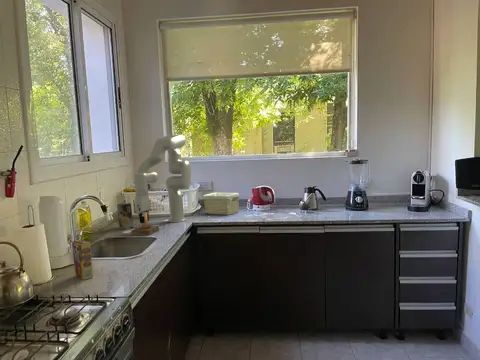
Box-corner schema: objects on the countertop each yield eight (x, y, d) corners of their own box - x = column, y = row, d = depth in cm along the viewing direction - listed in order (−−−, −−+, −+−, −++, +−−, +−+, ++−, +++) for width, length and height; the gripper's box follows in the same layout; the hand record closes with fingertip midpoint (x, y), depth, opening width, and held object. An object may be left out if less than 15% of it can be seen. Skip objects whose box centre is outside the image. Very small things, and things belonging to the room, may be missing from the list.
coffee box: (133, 225, 255) (131, 202, 253) (133, 227, 249) (131, 204, 247) (119, 227, 252) (117, 204, 251) (119, 229, 246) (116, 205, 245)
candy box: (94, 277, 156) (90, 241, 154) (84, 280, 153) (80, 244, 151) (84, 273, 162) (81, 238, 160) (74, 276, 159) (71, 241, 157)
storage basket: (203, 214, 283) (201, 194, 281) (216, 210, 296) (215, 191, 294) (228, 216, 269) (226, 195, 267) (241, 211, 282) (239, 192, 280)
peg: (143, 227, 233) (142, 212, 232) (149, 227, 232) (148, 212, 231) (140, 229, 229) (138, 213, 228) (145, 229, 228) (144, 213, 227)
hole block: (142, 230, 239) (142, 225, 238) (159, 230, 235) (158, 226, 235) (131, 235, 227) (131, 230, 227) (148, 235, 224) (148, 230, 223)
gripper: (144, 191, 238) (146, 219, 239) (128, 194, 222) (131, 224, 223) (154, 190, 235) (156, 219, 237) (139, 194, 219) (142, 225, 221)
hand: (144, 221), depth 230 cm, fingers closed on peg, 4 cm apart
